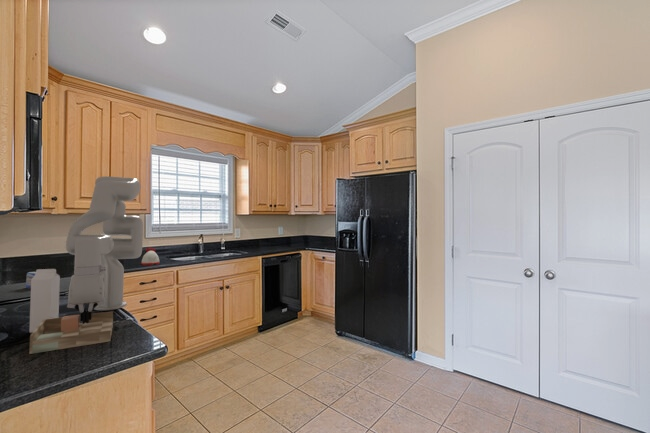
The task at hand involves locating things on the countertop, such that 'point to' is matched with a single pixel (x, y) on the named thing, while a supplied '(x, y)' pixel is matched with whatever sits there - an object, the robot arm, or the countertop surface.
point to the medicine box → (29, 279)
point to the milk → (44, 297)
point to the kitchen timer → (150, 257)
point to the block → (70, 322)
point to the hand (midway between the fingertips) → (85, 322)
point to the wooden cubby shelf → (71, 333)
